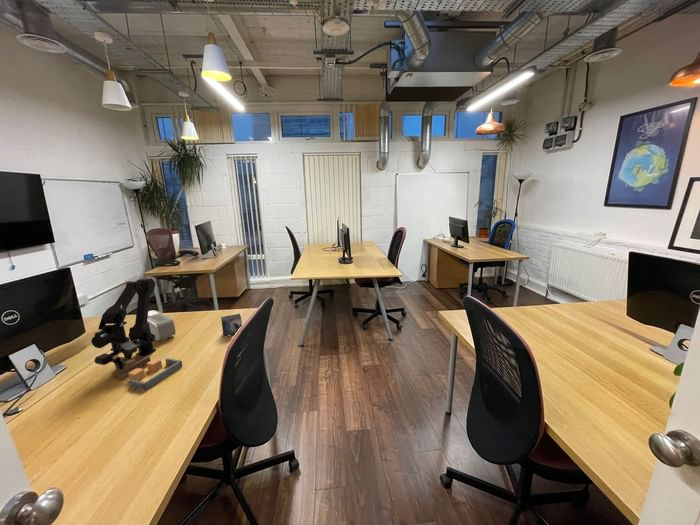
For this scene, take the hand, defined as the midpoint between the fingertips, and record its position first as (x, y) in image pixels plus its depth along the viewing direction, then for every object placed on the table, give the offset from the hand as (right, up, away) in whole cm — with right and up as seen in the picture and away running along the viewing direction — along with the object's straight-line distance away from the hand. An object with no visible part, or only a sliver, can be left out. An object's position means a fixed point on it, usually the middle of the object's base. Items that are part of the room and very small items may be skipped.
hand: (124, 367), depth 134 cm
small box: (+37, +7, +34) cm, 51 cm away
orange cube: (+15, -1, 0) cm, 15 cm away
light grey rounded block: (-8, +6, +36) cm, 37 cm away
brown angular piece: (+1, -1, 0) cm, 1 cm away
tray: (+20, -2, -6) cm, 21 cm away
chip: (+12, -3, -8) cm, 14 cm away
